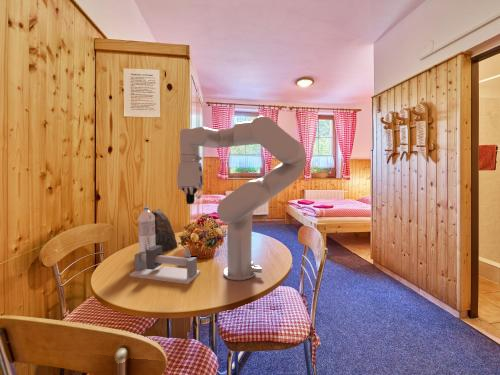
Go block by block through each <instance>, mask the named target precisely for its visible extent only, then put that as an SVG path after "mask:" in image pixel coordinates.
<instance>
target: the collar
mask: <svg viewBox="0 0 500 375" xmlns="http://www.w3.org/2000/svg"><path fill="white" fill-rule="evenodd" d="M156 255H162V256H163V252H162V246H159V245H155V246H153V247H151V248H149V249H147V250H146V269H151V270H153V269H155V268H157V267H158V266H162V263H155V256H156Z"/></svg>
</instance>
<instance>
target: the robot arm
mask: <svg viewBox="0 0 500 375" xmlns="http://www.w3.org/2000/svg"><path fill="white" fill-rule="evenodd" d="M248 145H249V146H251V145H260V147H262V148H264V149H265V150H266V151H267V152H268V153H270V155H271V156H273V157H274V158H275V159H276V160H278V161H279V162H280V163H279V164H278V165H277V166H275V167H273V168H272V169H270V171H269V172H266V174H264V175H263V176H261V177H259V178H257V179H251V180H248V181H245V183H243V184H242V185H240V186H239V187H238V188H236V189H235V190H233V191H232V192H231V193H229V194H228V195H227V196H225V197H224V198H223V199H221V201H220V202H219V203H218V205H217V208H216V211H217V212H216V214H217V217H218V219H219V220H220V221H221V222H223V223H225V224H227V228H226V229H227V232H226V233H227V237H226V238H227V240H226V241H227V245H226V246H227V250H226V252H227V256H226V257H227V267H225V268H224V270H223V276H224V277H225V278H226V279H229V280H230V281H231V280H232V281H247V280H249V278H250V279H252V278H254V277H255V275H256V273H257V274H262V272H263V268H262V267H261V265H255V264H254V261H253V260H252V246H253V244H252V238H253V237H252V235H253V234H252V232H253V231H252V228H253V227H252V226H253V216H254V211H256V210H257V209H258V208H260V207H262V206H264V205H265V204H267V203H269V202H270V201H271V200H272V199H273V198H275V197H276V196H277V195H278V194H280V193H281V192H283V191H284V190H286V189H287V188H288V187H289V186H291V185H292V184H293V183H294V182H296V181H297V180H298V179H299V178H300V177H301V175H302V174H303V172H304V170H305V168H306V166H307V164H306V163H307V154H306V149H305V147H304V145H303V143H301V142H300V141H298V140H297V139H295V138H294V137H293V136H291V135H290V134H289V133H288V132H286V131H285V129H283V128H281V127H280V126H279V124H278V123H277V121H275V120H274V119H272V118H271V117H269V116H266V115H260V116H257V117H255V118H254V119H252V120H251V121H241V122H236V123H234V125H233V126H232V127H230V128H226V129H224V128H223V129H213V128H210V127H206V126H197V127H193V128H181V130H180V131H179V157H180V158H179V159H180V161H179V163H178V166H177V176H176V177H177V178H176V181H177V189H178V190H181V191H183V193H184V194H185V198H186V199H185V202H186V204H187V205H192V204H195V203H194V202H195V195H196V193H197V192H198V191H201V190H203V188H204V187H203V186H204V172H203V166H202V163H201V162H200V161H202V160H203V157H202V156H200V147H203V148H205V147H206V148H212V149H216V148H217V149H219V148H231V147H239V146H248ZM253 276H254V277H253ZM251 277H252V278H251ZM246 279H247V280H246Z"/></svg>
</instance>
